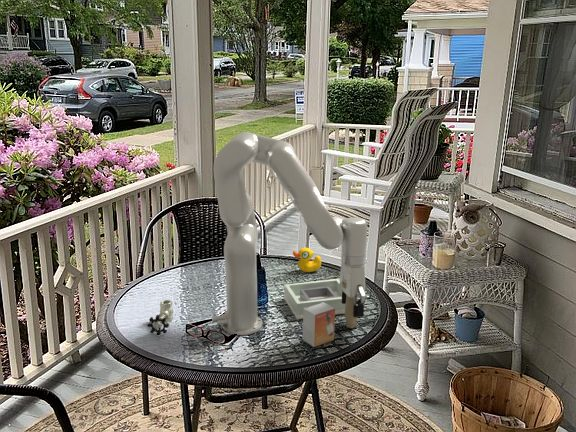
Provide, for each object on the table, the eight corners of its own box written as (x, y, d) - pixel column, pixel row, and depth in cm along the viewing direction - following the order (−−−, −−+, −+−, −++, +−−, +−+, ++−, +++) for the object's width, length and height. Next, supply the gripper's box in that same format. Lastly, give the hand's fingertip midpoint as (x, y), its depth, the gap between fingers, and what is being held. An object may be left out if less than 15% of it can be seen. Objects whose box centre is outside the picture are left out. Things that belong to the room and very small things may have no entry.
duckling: (293, 274, 209) (293, 250, 206) (292, 269, 214) (292, 246, 211) (322, 273, 210) (322, 249, 207) (320, 268, 215) (320, 245, 212)
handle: (362, 329, 166) (364, 285, 162) (342, 330, 165) (344, 286, 161) (358, 322, 170) (360, 278, 166) (339, 323, 170) (340, 279, 166)
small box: (313, 348, 155) (314, 315, 152) (302, 340, 159) (302, 308, 156) (334, 340, 159) (335, 308, 157) (322, 332, 164) (323, 301, 161)
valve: (158, 317, 173) (147, 335, 162) (157, 299, 172) (146, 315, 160) (178, 318, 173) (169, 336, 162) (177, 299, 171) (167, 316, 160)
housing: (297, 319, 172) (297, 303, 171) (284, 298, 187) (284, 284, 186) (354, 312, 177) (355, 297, 176) (337, 292, 192) (338, 278, 191)
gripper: (332, 250, 168) (331, 299, 173) (352, 269, 152) (351, 323, 157) (354, 248, 170) (353, 297, 175) (377, 267, 154) (374, 320, 159)
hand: (352, 309), depth 166 cm, fingers open, 9 cm apart
